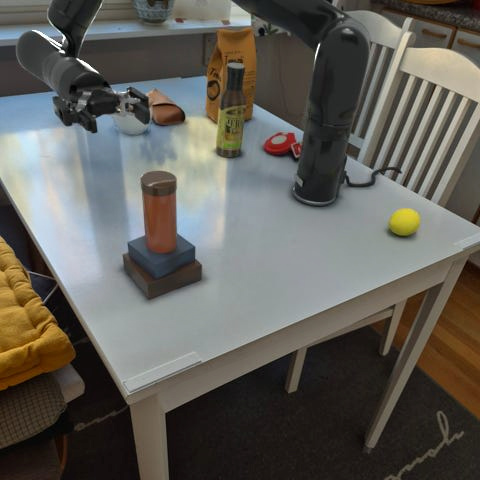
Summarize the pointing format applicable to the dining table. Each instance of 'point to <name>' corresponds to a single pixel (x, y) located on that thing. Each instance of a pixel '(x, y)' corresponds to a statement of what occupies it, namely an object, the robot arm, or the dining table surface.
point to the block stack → (161, 267)
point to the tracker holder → (283, 144)
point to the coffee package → (226, 51)
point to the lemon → (404, 221)
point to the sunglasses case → (165, 109)
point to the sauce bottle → (231, 113)
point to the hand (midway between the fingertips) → (121, 122)
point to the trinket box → (132, 121)
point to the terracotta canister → (159, 210)
